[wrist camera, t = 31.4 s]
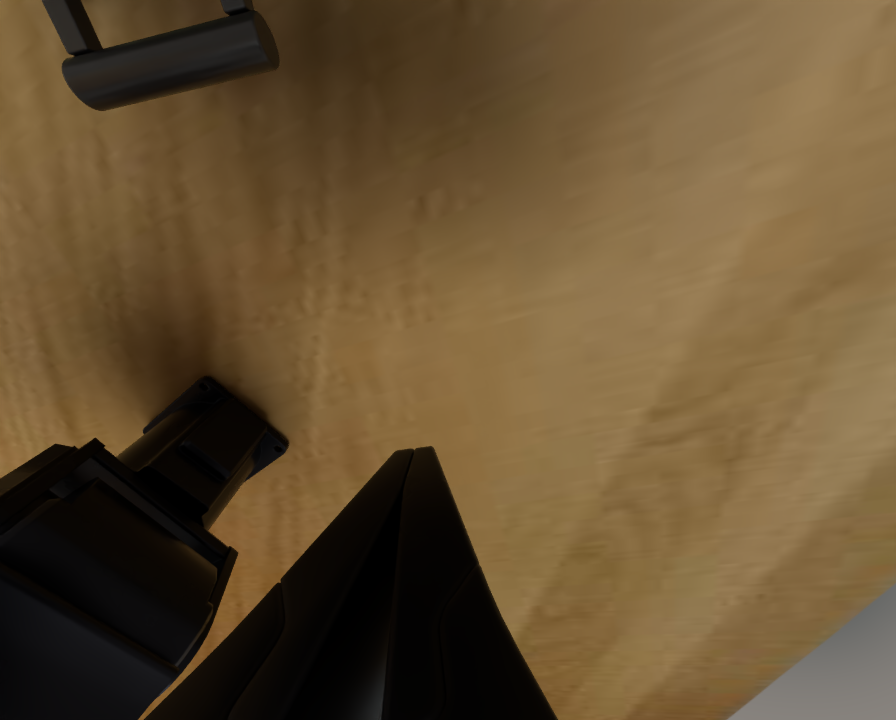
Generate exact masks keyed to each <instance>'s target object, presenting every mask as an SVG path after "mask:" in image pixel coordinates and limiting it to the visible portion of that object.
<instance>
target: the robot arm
mask: <svg viewBox="0 0 896 720" xmlns="http://www.w3.org/2000/svg"><path fill="white" fill-rule="evenodd" d="M205 384H206V385H207V386H208V387H206V386H205ZM143 433H144V435H143V436H142V437H141V438H139V439H138V440H137V441H136V442H134V443H133V444H132V445H131V446H129V447H128V448H127V449H126V450H124V451H123V452H122V453H120V454H119V455H118V456H117V457H115V456H114V455H112V454H111V453H110V452H109V451H107V450H106V449H105V448H104V447H105V445H104V444H103V443H101V442H100V441H99V440H98V439H96V438H94V439H93V440H91V441H90V442H88V443H87V444H85V445H84V446H82V447H81V448H79V449H78V448H77V447H75V446H73V447H70V446H65V445H59V444H54V445H53V446H51V447H49V448H48V449H46V450H45V451H43V452H42V453H40V454H39V455H37V456H35V457H34V458H32V459H31V460H29V461H28V462H26V463H24V464H23V465H21V466H20V467H18V468H17V469H15V470H13V471H12V472H10V473H8V474H7V475H5V476H4V477H2V478H0V720H138V719H139V718H140V716H141V715H142V714H143V713H144V711H145V710H146V709H147V708H148V706H149V705H150V704H151V703H152V702H153V701H154V700H155V699H156V698H157V697H159V696H160V695H161V694H162V693H163V692H164V691H165V690H166V689H167V688H168V687H169V686H170V685H171V684H172V683H173V682H174V681H175V680H176V679H177V678H178V676H179V675H180V674H181V673H182V672H183V671H184V669H185V668H186V667H187V665H188V664H189V663H190V662H191V660H192V659H193V657H194V656H195V654H196V653H197V652H198V650H199V649H200V647H201V645H202V644H203V642H204V640H205V638H206V637H207V635H208V633H209V630H210V628H211V626H212V624H213V621H214V618H215V615H216V613H217V610H218V607H219V605H220V602H221V599H222V596H223V594H224V591H225V588H226V586H227V583H228V580H229V577H230V575H231V572H232V569H233V567H234V564H235V561H236V558H237V556H238V552H237V551H236V550H235V549H233V548H232V547H231V546H229V547H228V546H226V545H225V544H224V543H223V542H221V541H220V540H219V539H218V538H216V537H215V536H214V535H213V534H211V533H210V532H209V531H208V530H209V529H210V527H211V526H212V525H213V523H214V522H215V521H216V519H217V518H218V517H219V515H220V514H221V512H222V511H223V510H224V508H225V507H226V506H227V504H228V503H229V501H230V500H231V499H232V497H233V496H234V495H235V493H236V492H237V491H238V489H239V488H240V486H241V485H242V484H243V483H244V482H245V481H246V480H248V479H249V478H251V477H252V476H253V475H255V474H256V473H258V472H259V471H260V470H262V469H263V468H265V467H266V466H268V465H269V464H270V463H272V462H273V461H275V460H276V459H277V458H279V457H280V456H282V455H283V454H284V453H285V452H286V450H287V449H288V446H289V445H288V443H287V442H286V441H285V440H284V439H283V438H282V437H281V436H280V435H278V434H277V433H276V432H275V431H274V430H273V429H271V428H270V427H269V426H268V425H267V424H265V423H264V422H263V421H262V420H261V419H260V418H258V417H257V416H256V415H255V414H254V413H253V412H251V411H250V410H249V409H248V408H247V407H246V406H244V405H243V404H242V403H241V402H240V401H239V400H237V399H236V398H235V397H234V396H233V395H231V394H230V393H229V392H228V391H227V390H226V389H224V388H223V387H222V386H221V385H220V384H219V383H217V382H216V381H215V380H214V379H212V378H211V377H208V376H204V377H202V378H200V379H199V380H198V381H196V382H195V383H194V384H193V385H192V386H191V387H190V388H189V389H187V390H186V391H185V392H184V393H183V394H182V395H181V396H180V397H178V398H177V399H176V400H175V401H174V402H173V403H172V404H171V405H170V406H168V407H167V408H166V409H165V410H164V411H163V412H162V413H161V414H159V415H158V416H157V417H156V418H155V419H154V420H153V421H152V422H150V423H149V424H148V425H147V426H146V427H145V428H144V429H143ZM278 446H280V447H281V448H280V447H278ZM144 720H558V719H557V717H556V715H555V713H554V712H553V710H552V708H551V706H550V704H549V703H548V701H547V699H546V697H545V696H544V694H543V692H542V690H541V688H540V687H539V685H538V683H537V681H536V679H535V678H534V676H533V674H532V672H531V670H530V669H529V667H528V665H527V663H526V662H525V660H524V658H523V656H522V654H521V653H520V651H519V649H518V647H517V645H516V643H515V641H514V639H513V637H512V635H511V633H510V631H509V630H508V628H507V626H506V624H505V622H504V620H503V618H502V616H501V614H500V611H499V609H498V607H497V605H496V602H495V600H494V598H493V595H492V593H491V591H490V589H489V586H488V584H487V581H486V579H485V576H484V574H483V571H482V568H481V567H480V565H479V561H478V559H477V556H476V554H475V551H474V549H473V546H472V544H471V541H470V539H469V536H468V534H467V531H466V528H465V526H464V523H463V521H462V518H461V516H460V513H459V511H458V508H457V506H456V503H455V500H454V498H453V495H452V493H451V490H450V488H449V485H448V483H447V480H446V478H445V475H444V472H443V470H442V467H441V465H440V462H439V460H438V457H437V455H436V452H435V450H434V448H433V447H432V446H428V447H420V448H416V449H415V450H414V449H404V450H397V451H395V452H394V453H393V454H392V455H391V456H390V458H389V459H388V460H387V461H386V462H385V463H384V464H383V465H382V467H381V468H380V469H379V470H378V471H377V472H376V473H375V474H374V475H373V477H372V478H371V479H370V480H369V481H368V482H367V483H366V484H365V485H364V487H363V488H362V489H361V490H360V491H359V492H358V493H357V494H356V496H355V497H354V498H353V499H352V500H351V501H350V502H349V503H348V504H347V506H346V507H345V508H344V509H343V510H342V511H341V512H340V513H339V515H338V516H337V517H336V518H335V519H334V520H333V521H332V522H331V523H330V525H329V526H328V527H327V528H326V529H325V530H324V531H323V532H322V533H321V535H320V536H319V537H318V538H317V539H316V540H315V541H314V542H313V544H312V545H311V546H310V547H309V548H308V549H307V550H306V551H305V552H304V554H303V555H302V556H301V557H300V558H299V559H298V560H297V561H296V562H295V564H294V565H293V566H292V567H291V568H290V569H289V570H288V571H287V573H286V574H285V575H284V576H283V577H282V578H281V583H277V584H276V585H275V586H274V587H273V588H272V589H271V590H270V591H269V592H268V593H267V595H266V596H265V597H264V598H263V599H262V600H261V601H260V602H259V603H258V605H257V606H256V607H255V608H254V609H253V610H252V611H251V612H250V613H249V614H248V615H247V616H246V617H245V619H244V620H243V621H242V622H241V623H240V624H239V625H238V626H237V627H236V628H235V629H234V630H233V631H232V633H231V634H230V635H229V636H228V637H227V638H226V639H225V640H224V641H223V642H222V643H221V644H220V645H219V646H218V647H217V648H216V649H215V650H214V651H213V652H212V653H211V654H210V655H209V656H208V657H207V658H206V659H205V660H204V661H203V662H202V663H201V664H200V665H199V666H198V667H197V668H196V669H195V670H194V671H193V672H192V673H191V674H190V675H189V676H188V677H187V678H186V679H185V680H184V681H183V682H182V683H181V684H180V685H179V686H178V687H176V688H175V689H174V690H173V691H172V692H171V693H170V694H169V695H168V696H167V697H166V698H165V699H164V700H163V701H162V702H161V703H160V704H159V705H158V706H157V707H156V708H155V709H154V710H153V711H152V712H151V713H150V714H149V715H148V716H147V717H146V718H145V719H144Z"/></svg>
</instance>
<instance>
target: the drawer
mask: <svg viewBox="0 0 896 720" xmlns="http://www.w3.org/2000/svg"><path fill="white" fill-rule="evenodd" d="M42 2H43V4H44V6H45V8H46V10H47V12H48V14H49V16H50V18H51V20H52V22H53V24H54V26H55V28H56V30H57V32H58V34H59V36H60V39H61V41H62V43H63V45H64V47H65V49H66V51H67V52H68V54H70V55H73V56H74V57H70V58H67V59H65V60H64V62H63V63H62V73H63V76H64V79H65V81H66V83H67V84H68V86H69V87H70V89H71V90H72V91H73V93H74V94H75V95H76V96H77V97H78V98H79V99H80V100H81V101H82V102H83V103H85V104H86V105H87V106H89V107H91V108H93V109H95V110H99V111H106V110H110V109H114V108H118V107H123V106H127V105H131V104H135V103H139V102H143V101H148V100H152V99H156V98H160V97H164V96H168V95H173V94H177V93H181V92H185V91H189V90H193V89H198V88H202V87H206V86H210V85H214V84H218V83H223V82H227V81H231V80H235V79H239V78H243V77H248V76H252V75H256V74H260V73H264V72H269V71H273V70H276V69H278V67H279V65H280V59H279V53H278V49H277V46H276V43H275V40H274V37H273V35H272V33H271V30H270V28H269V27H268V25H267V23H266V21H265V20H264V18H263V17H262V16H261V14H260V13H259V12H257V11H255V10H254V7H253V4H252V0H221V3H222V6H223V9H224V12H225V13H226V14H227V15H229V16H228V17H224V18H220V19H216V20H212V21H209V22H205V23H201V24H197V25H193V26H189V27H186V28H182V29H178V30H174V31H170V32H166V33H162V34H159V35H155V36H151V37H147V38H143V39H139V40H136V41H132V42H128V43H124V44H120V45H116V46H112V47H109V48H105V49H103V48H102V46H101V44H100V41H99V39H98V37H97V35H96V33H95V30H94V28H93V26H92V24H91V22H90V20H89V17H88V15H87V13H86V11H85V9H84V7H83V4H82V2H81V0H42Z"/></svg>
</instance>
